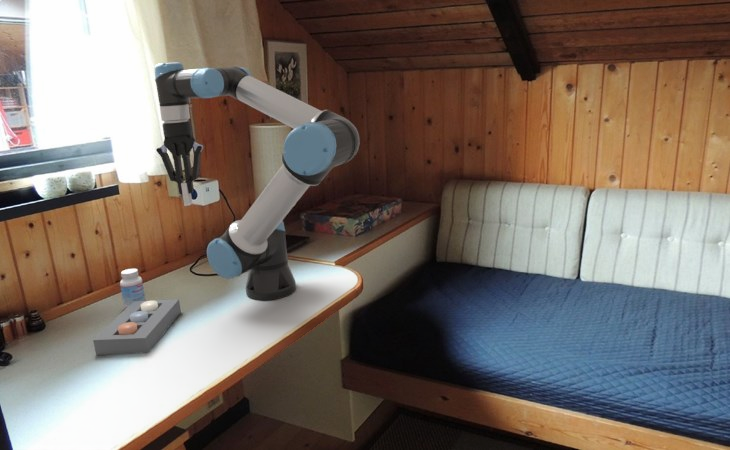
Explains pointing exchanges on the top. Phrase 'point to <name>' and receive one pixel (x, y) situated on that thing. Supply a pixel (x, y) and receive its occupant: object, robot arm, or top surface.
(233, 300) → the top surface
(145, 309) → the cream button
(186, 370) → the top surface
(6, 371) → the top surface
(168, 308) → the tray
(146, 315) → the blue-grey rounded block
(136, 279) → the pill bottle
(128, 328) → the terracotta button
